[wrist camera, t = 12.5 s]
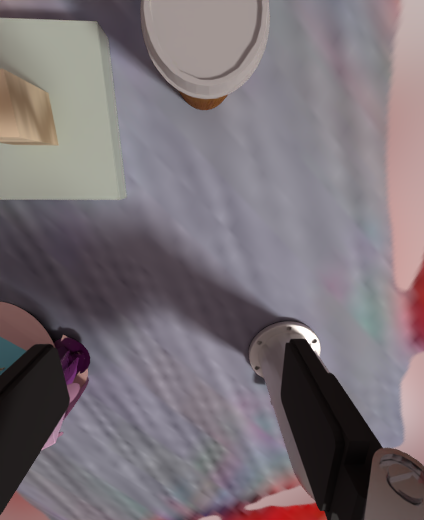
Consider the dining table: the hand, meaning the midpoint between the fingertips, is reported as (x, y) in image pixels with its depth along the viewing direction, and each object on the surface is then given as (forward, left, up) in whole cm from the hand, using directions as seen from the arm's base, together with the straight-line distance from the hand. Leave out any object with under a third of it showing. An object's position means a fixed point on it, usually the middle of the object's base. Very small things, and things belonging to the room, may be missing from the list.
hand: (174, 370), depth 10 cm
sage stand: (+13, +17, -25) cm, 33 cm away
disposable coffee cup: (+18, -2, -26) cm, 31 cm away
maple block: (+13, +17, -22) cm, 31 cm away
